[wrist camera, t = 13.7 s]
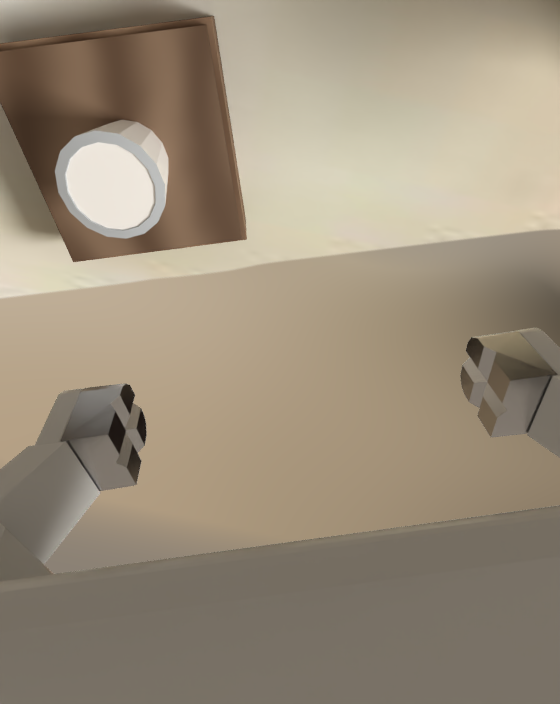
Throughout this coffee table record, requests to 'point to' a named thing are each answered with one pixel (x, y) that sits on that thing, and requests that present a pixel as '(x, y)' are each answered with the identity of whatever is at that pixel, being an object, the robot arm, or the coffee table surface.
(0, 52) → the walnut box
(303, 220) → the coffee table surface
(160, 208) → the white cylinder
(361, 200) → the coffee table surface
